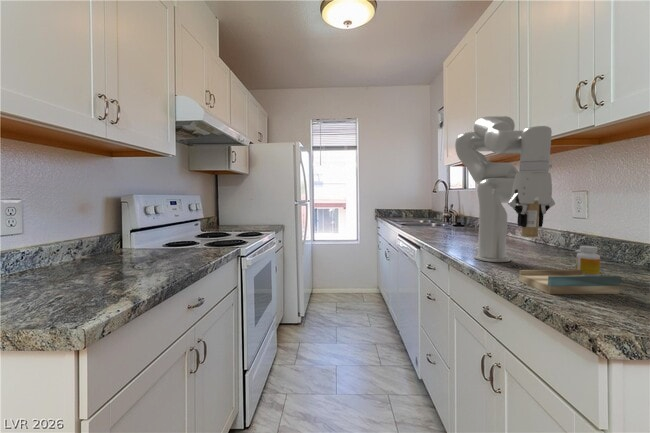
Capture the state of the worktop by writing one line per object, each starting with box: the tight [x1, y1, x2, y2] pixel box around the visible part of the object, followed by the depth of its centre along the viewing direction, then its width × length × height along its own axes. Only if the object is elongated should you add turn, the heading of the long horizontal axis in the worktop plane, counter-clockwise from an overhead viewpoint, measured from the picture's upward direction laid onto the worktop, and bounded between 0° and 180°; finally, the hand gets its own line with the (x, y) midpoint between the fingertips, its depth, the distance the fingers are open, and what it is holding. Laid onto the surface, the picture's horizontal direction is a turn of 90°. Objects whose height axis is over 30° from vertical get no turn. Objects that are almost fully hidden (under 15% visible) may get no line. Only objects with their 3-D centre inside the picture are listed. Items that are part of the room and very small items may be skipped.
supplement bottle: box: [575, 245, 601, 276], centre depth 91 cm, size 5×5×10 cm
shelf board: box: [518, 269, 622, 295], centre depth 83 cm, size 12×18×4 cm, turn 91°
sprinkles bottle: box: [520, 197, 540, 238], centre depth 95 cm, size 5×5×13 cm
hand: (529, 225), depth 96 cm, fingers closed on sprinkles bottle, 4 cm apart
